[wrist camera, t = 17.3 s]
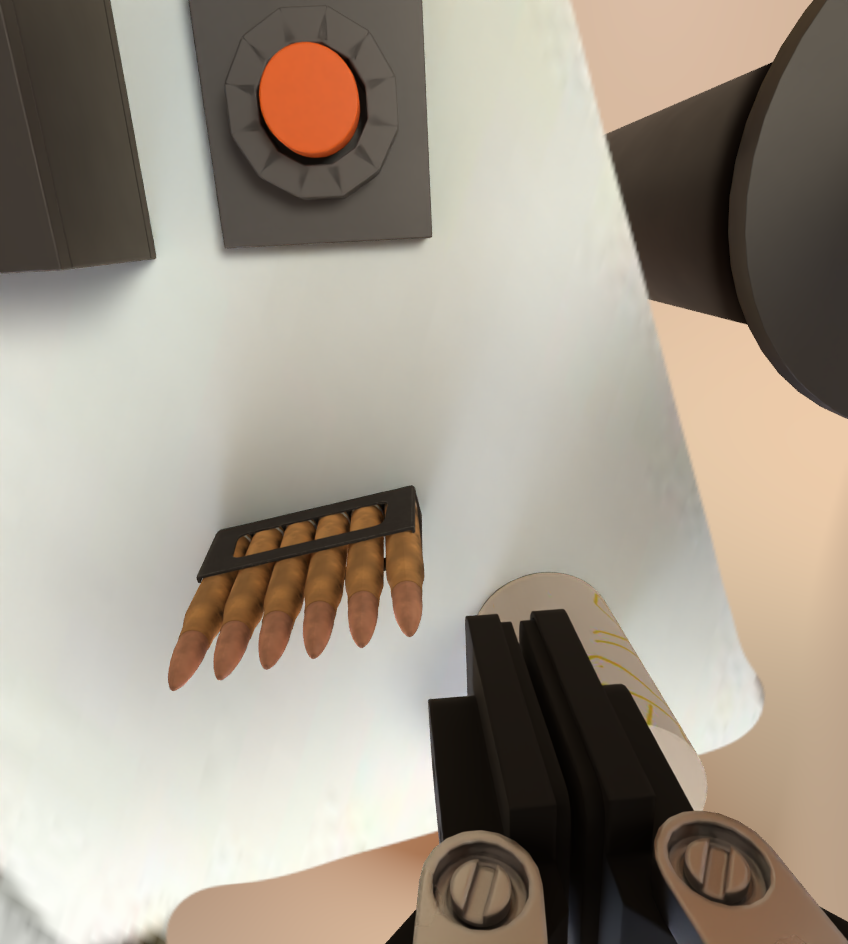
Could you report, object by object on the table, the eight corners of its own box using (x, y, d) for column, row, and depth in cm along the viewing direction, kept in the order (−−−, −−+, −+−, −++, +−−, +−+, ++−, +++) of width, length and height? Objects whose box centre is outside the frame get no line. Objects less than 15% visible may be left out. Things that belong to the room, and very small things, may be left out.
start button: (355, 51, 25) (354, 38, 23) (363, 156, 26) (362, 151, 25) (260, 55, 25) (252, 43, 23) (272, 160, 26) (265, 155, 25)
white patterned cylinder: (634, 651, 39) (736, 821, 28) (514, 714, 40) (566, 902, 29) (573, 547, 36) (658, 688, 25) (446, 617, 38) (474, 783, 26)
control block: (418, -23, 27) (423, -58, 24) (429, 236, 31) (435, 237, 27) (195, -14, 27) (169, -49, 23) (232, 247, 30) (214, 249, 27)
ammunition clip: (227, 561, 36) (156, 715, 24) (216, 531, 35) (137, 674, 24) (421, 516, 35) (441, 650, 24) (414, 484, 35) (429, 607, 23)
